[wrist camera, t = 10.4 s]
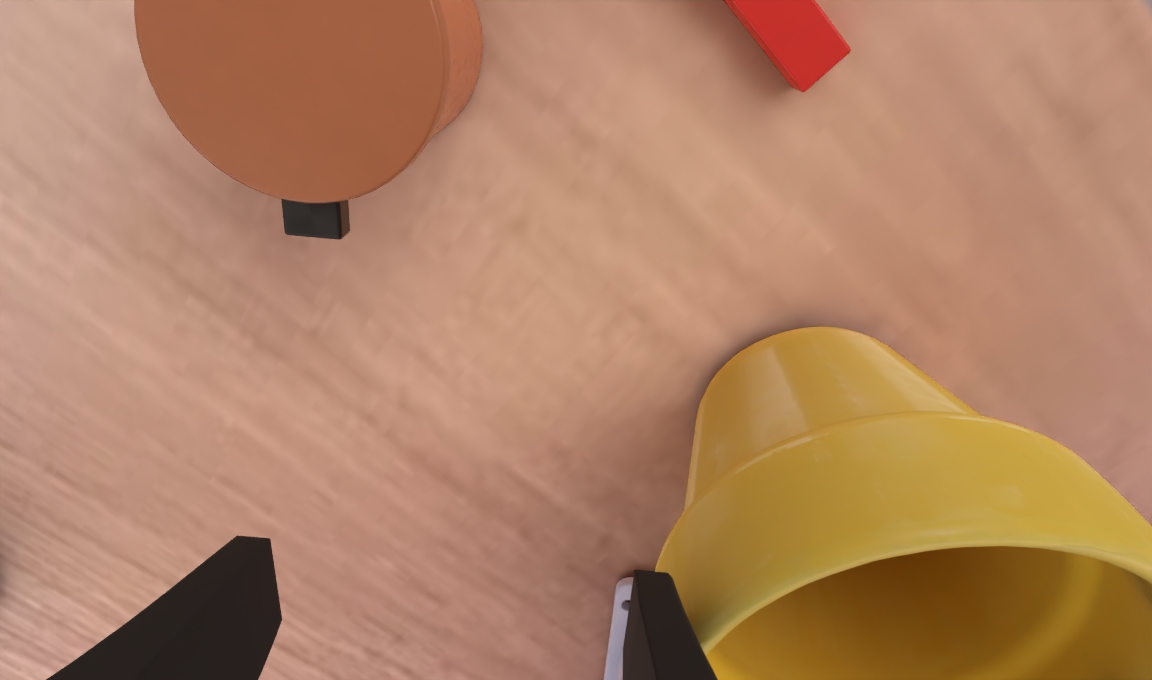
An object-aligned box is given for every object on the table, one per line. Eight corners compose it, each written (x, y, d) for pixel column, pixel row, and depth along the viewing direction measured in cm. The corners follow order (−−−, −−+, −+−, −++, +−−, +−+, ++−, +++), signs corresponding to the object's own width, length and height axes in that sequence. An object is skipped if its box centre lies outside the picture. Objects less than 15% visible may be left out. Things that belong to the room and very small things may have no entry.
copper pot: (487, 189, 19) (444, 255, 14) (284, 171, 19) (169, 230, 14) (494, -120, 16) (443, -179, 11) (253, -142, 16) (90, -211, 11)
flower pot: (732, 581, 25) (804, 905, 17) (568, 382, 21) (552, 677, 13) (1022, 456, 22) (1289, 774, 14) (895, 195, 18) (1165, 418, 10)
